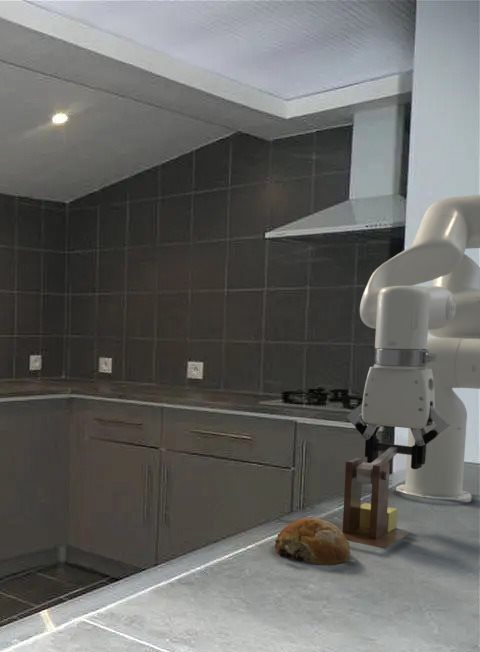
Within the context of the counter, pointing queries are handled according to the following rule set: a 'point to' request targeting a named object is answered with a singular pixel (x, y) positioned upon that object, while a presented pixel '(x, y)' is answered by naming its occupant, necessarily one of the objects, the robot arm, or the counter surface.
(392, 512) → the butter
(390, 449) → the arm
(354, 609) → the counter surface
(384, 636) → the counter surface
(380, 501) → the cutter
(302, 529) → the bread roll
